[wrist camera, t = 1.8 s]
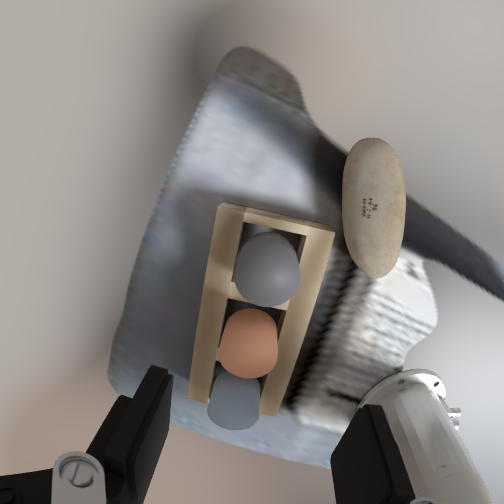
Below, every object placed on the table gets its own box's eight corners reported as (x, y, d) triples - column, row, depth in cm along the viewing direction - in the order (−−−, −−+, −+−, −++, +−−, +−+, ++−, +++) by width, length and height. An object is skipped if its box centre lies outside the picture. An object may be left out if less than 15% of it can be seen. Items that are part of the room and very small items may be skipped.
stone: (346, 287, 28) (326, 159, 22) (351, 247, 33) (333, 136, 27) (409, 285, 26) (405, 152, 20) (405, 245, 31) (396, 130, 24)
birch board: (329, 225, 29) (335, 232, 26) (276, 399, 35) (276, 416, 32) (222, 202, 29) (217, 206, 26) (192, 382, 35) (186, 398, 32)
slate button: (265, 374, 30) (264, 400, 26) (255, 407, 32) (253, 433, 28) (217, 364, 30) (210, 390, 26) (210, 398, 32) (204, 424, 28)
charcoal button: (302, 239, 26) (308, 252, 23) (288, 292, 28) (291, 312, 24) (245, 226, 26) (241, 237, 23) (234, 280, 28) (228, 299, 24)
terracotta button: (282, 314, 28) (284, 337, 24) (270, 357, 30) (270, 383, 26) (229, 303, 28) (223, 324, 24) (220, 347, 30) (214, 371, 26)
